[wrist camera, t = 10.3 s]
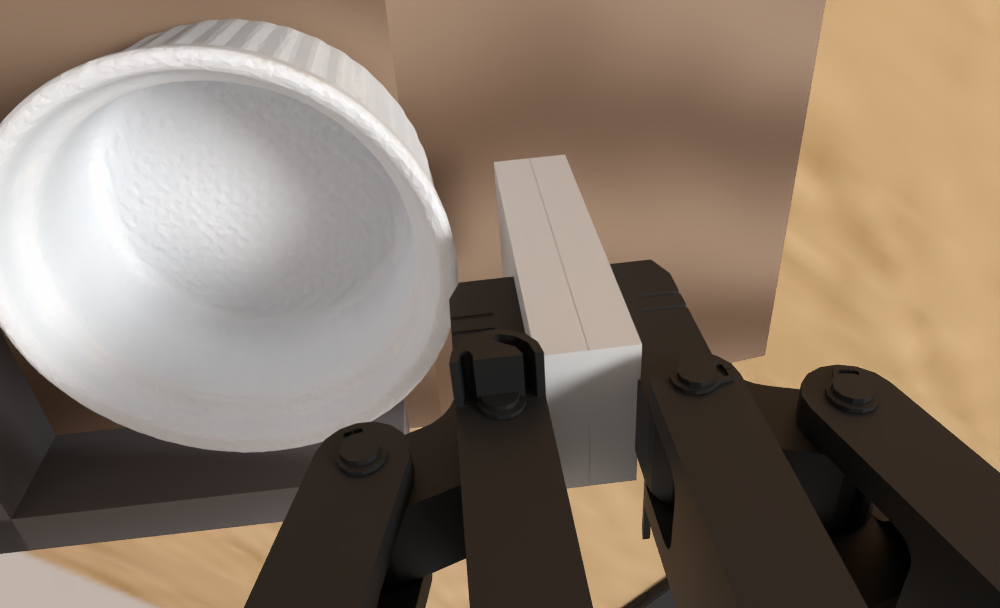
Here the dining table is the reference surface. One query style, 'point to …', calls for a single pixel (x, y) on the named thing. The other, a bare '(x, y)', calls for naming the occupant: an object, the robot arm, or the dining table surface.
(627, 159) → the dock
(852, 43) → the dining table surface
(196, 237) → the ramekin
